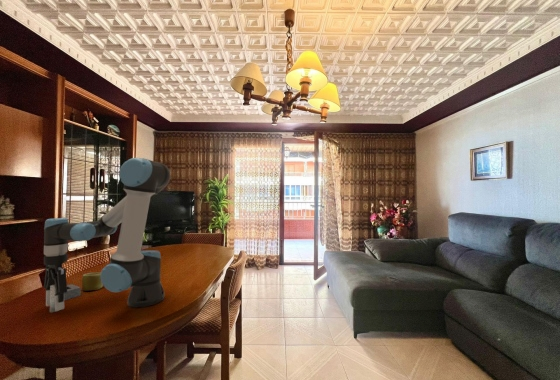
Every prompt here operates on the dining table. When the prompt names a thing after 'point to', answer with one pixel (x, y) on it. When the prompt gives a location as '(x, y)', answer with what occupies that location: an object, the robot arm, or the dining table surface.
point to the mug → (91, 281)
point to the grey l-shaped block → (72, 292)
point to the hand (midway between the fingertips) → (54, 307)
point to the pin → (52, 298)
